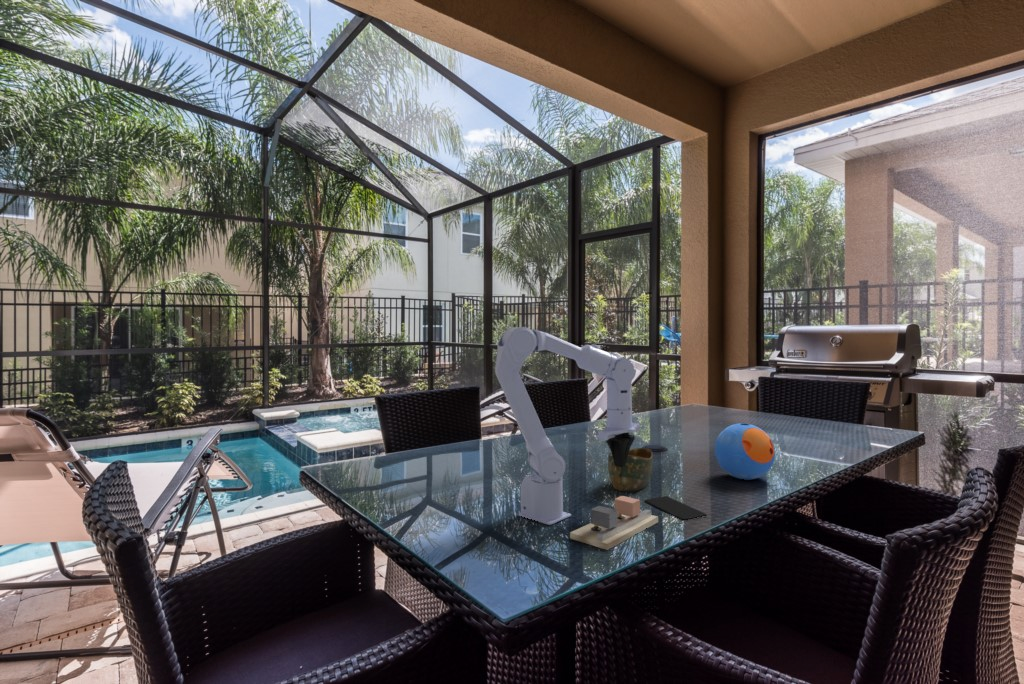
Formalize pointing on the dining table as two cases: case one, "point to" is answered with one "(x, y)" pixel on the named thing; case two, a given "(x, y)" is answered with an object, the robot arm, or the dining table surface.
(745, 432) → the treat dispenser ball
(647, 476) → the cup
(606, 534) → the divider bar
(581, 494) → the dining table surface
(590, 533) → the hole plate
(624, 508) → the brownish pink rectangular block
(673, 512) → the smartphone
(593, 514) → the fixed leg
